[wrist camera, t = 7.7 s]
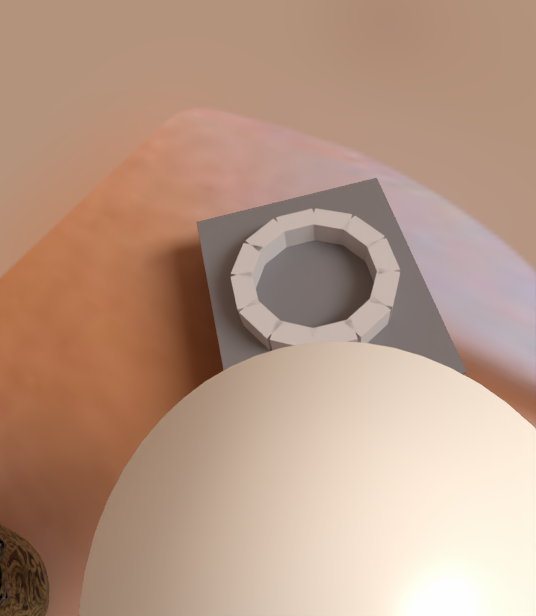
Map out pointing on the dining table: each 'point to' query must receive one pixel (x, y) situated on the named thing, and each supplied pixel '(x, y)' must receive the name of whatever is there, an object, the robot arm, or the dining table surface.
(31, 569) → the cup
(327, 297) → the square base with ring
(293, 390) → the domed cylinder with band
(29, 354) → the dining table surface
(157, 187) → the dining table surface
